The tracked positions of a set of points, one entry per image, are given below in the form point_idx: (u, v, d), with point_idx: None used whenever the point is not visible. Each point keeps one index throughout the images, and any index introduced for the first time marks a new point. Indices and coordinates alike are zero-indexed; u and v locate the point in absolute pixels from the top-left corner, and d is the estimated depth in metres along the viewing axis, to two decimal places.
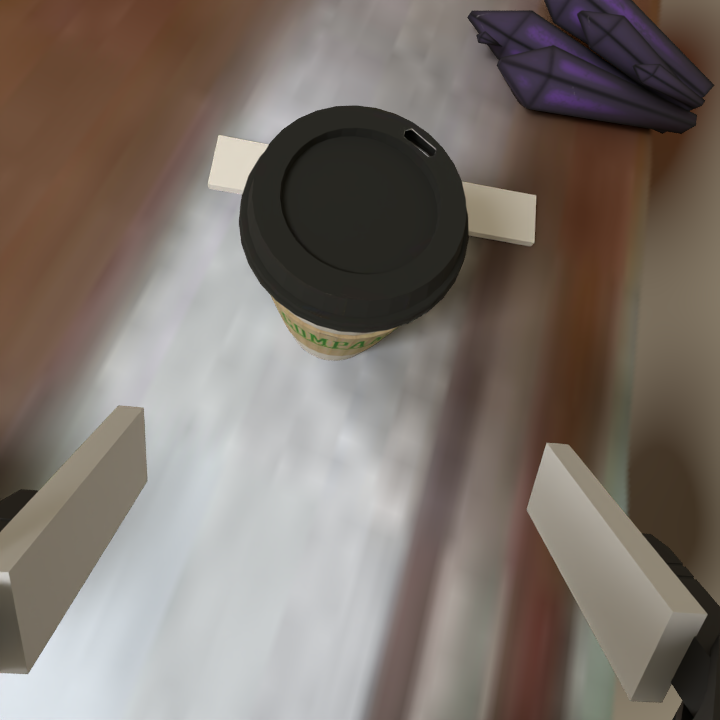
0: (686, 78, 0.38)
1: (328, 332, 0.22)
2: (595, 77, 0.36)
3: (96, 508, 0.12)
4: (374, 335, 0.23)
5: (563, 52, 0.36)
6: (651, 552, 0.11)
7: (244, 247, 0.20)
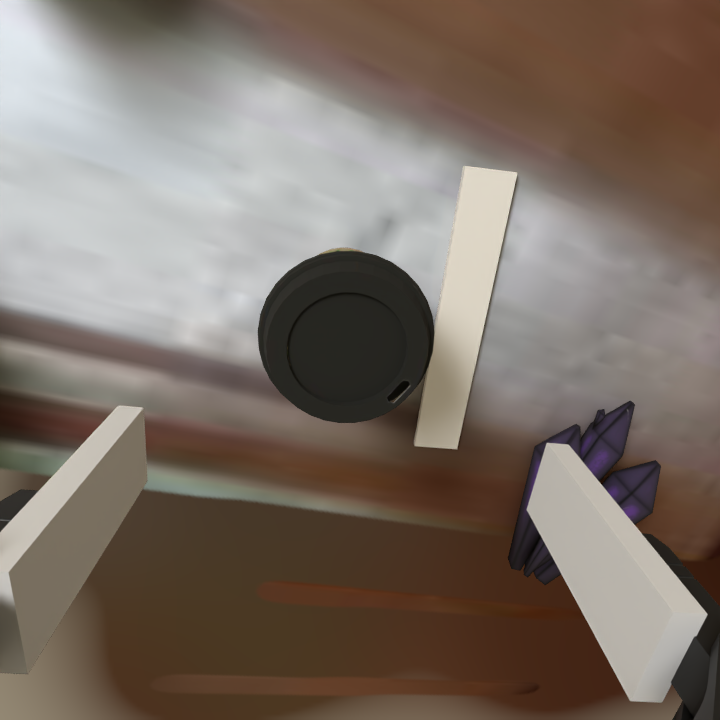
0: (550, 566, 0.47)
1: None
2: None
3: (96, 508, 0.12)
4: None
5: None
6: (651, 552, 0.11)
7: (315, 257, 0.25)
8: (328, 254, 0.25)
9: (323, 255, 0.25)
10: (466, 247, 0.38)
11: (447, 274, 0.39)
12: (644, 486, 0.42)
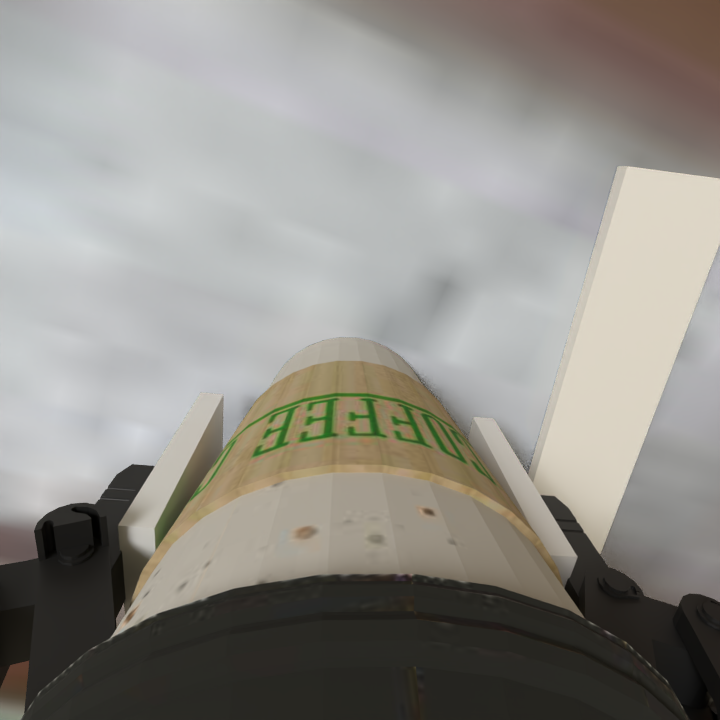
0: None
1: None
2: None
3: (196, 482, 0.14)
4: None
5: None
6: (542, 507, 0.13)
7: (208, 614, 0.05)
8: (269, 600, 0.05)
9: (245, 605, 0.05)
10: (609, 340, 0.18)
11: (564, 393, 0.19)
12: None
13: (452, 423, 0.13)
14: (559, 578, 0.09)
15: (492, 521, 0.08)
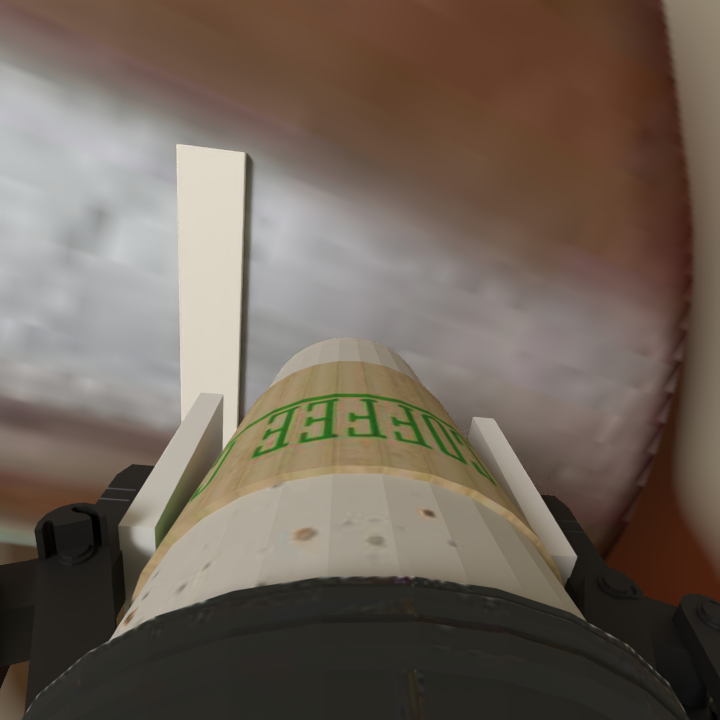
0: None
1: None
2: None
3: (196, 481, 0.14)
4: None
5: None
6: (542, 507, 0.13)
7: (207, 616, 0.05)
8: (269, 602, 0.05)
9: (244, 608, 0.05)
10: (198, 245, 0.31)
11: (181, 278, 0.32)
12: None
13: (452, 424, 0.13)
14: (560, 579, 0.09)
15: (492, 522, 0.08)
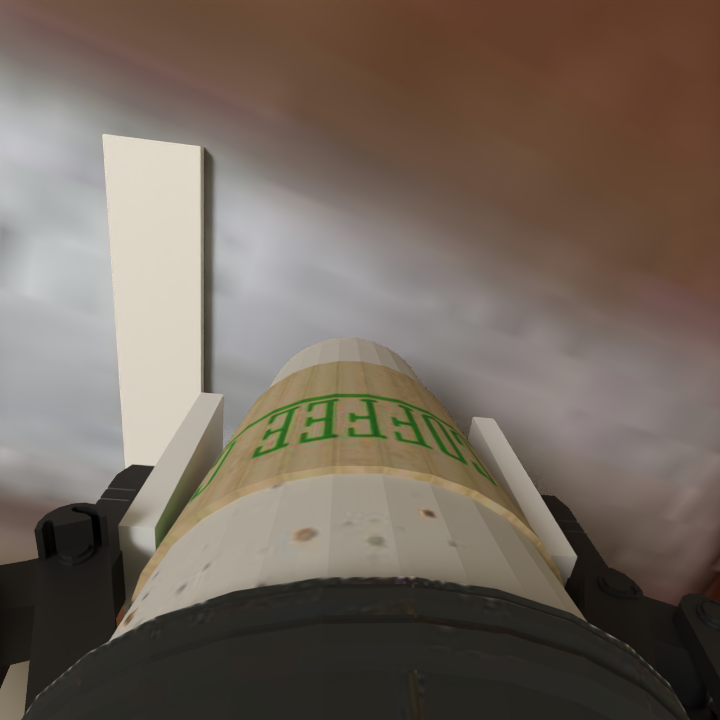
0: None
1: None
2: None
3: (196, 482, 0.14)
4: None
5: None
6: (542, 507, 0.13)
7: (207, 617, 0.05)
8: (269, 603, 0.05)
9: (244, 608, 0.05)
10: (139, 275, 0.22)
11: (118, 319, 0.23)
12: None
13: (452, 424, 0.13)
14: (560, 580, 0.09)
15: (493, 522, 0.08)
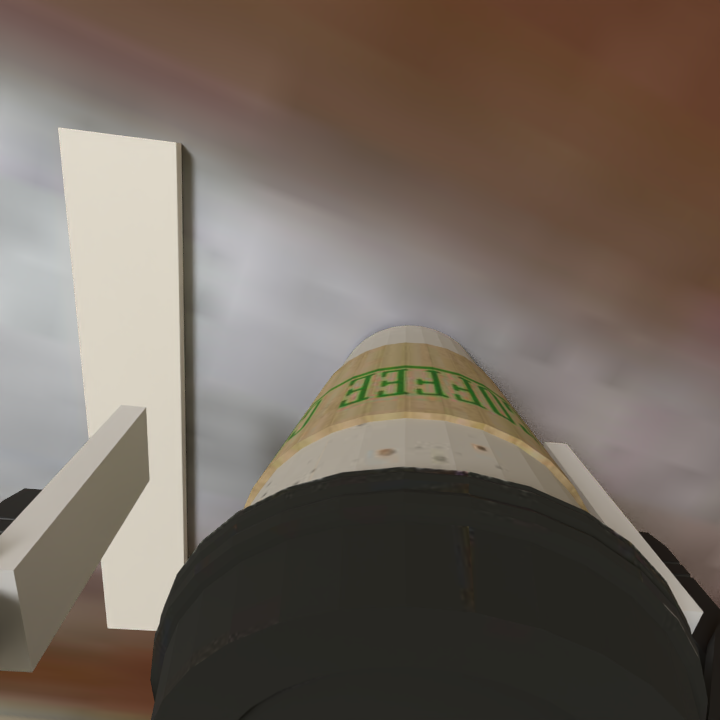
0: None
1: None
2: None
3: (99, 507, 0.12)
4: None
5: None
6: (648, 550, 0.11)
7: (324, 487, 0.07)
8: (367, 480, 0.07)
9: (349, 482, 0.07)
10: (107, 294, 0.19)
11: (84, 346, 0.20)
12: None
13: (505, 399, 0.15)
14: None
15: (533, 464, 0.10)
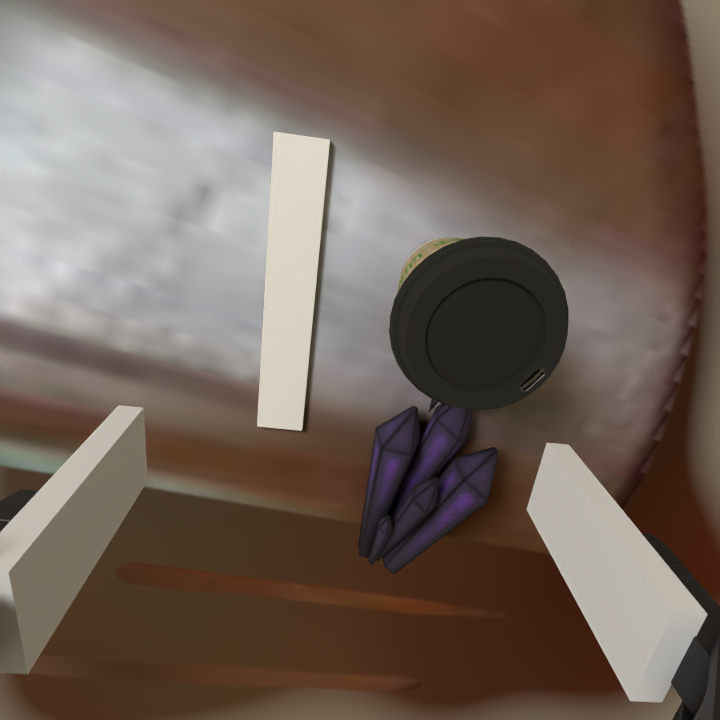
0: (395, 554, 0.45)
1: None
2: (387, 485, 0.42)
3: (96, 508, 0.12)
4: None
5: (406, 462, 0.40)
6: (651, 552, 0.11)
7: (457, 243, 0.25)
8: (470, 240, 0.25)
9: (465, 240, 0.25)
10: (285, 218, 0.37)
11: (269, 246, 0.37)
12: (478, 473, 0.40)
13: None
14: None
15: None
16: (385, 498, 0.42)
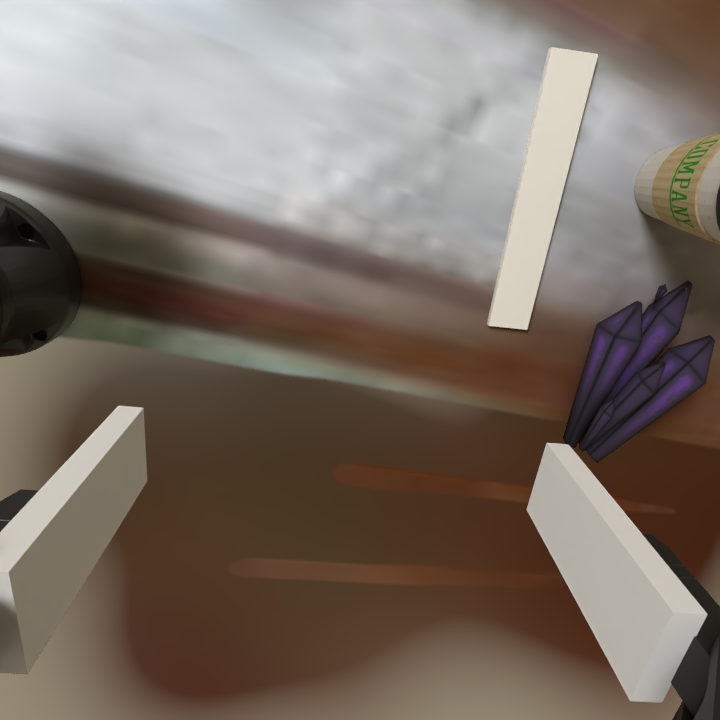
0: (603, 442, 0.50)
1: (704, 173, 0.34)
2: (611, 373, 0.47)
3: (96, 508, 0.12)
4: (695, 204, 0.35)
5: (634, 349, 0.46)
6: (651, 552, 0.11)
7: None
8: None
9: None
10: (547, 127, 0.42)
11: (529, 154, 0.43)
12: (699, 358, 0.45)
13: None
14: None
15: None
16: (606, 386, 0.48)
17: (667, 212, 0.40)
